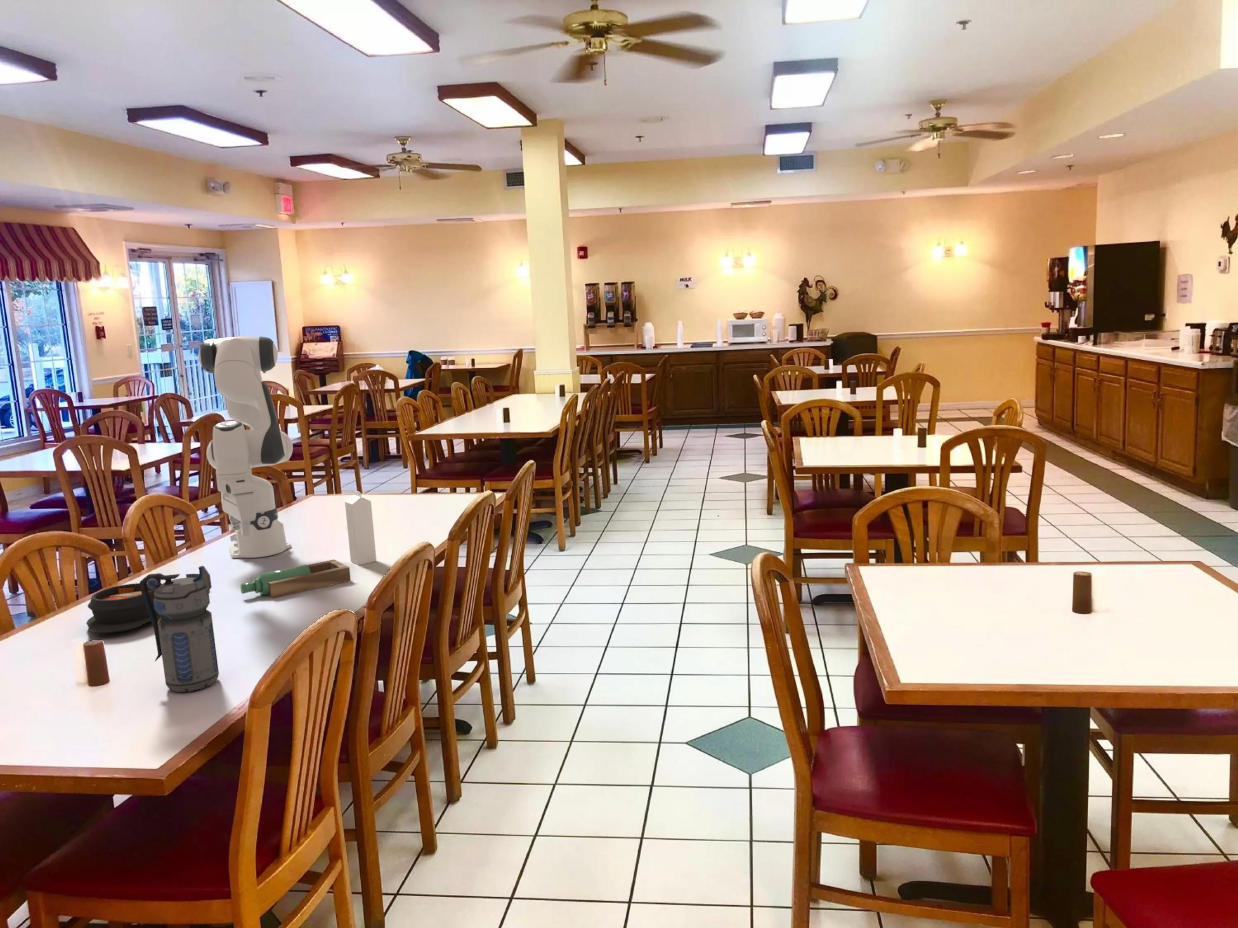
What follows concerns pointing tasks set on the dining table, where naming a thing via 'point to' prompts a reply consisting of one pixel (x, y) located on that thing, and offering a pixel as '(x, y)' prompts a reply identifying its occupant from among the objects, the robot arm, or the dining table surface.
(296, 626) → the dining table surface
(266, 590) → the bottle
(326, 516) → the dining table surface
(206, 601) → the blue striped grenade
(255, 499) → the robot arm
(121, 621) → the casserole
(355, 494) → the milk
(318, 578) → the u rest
